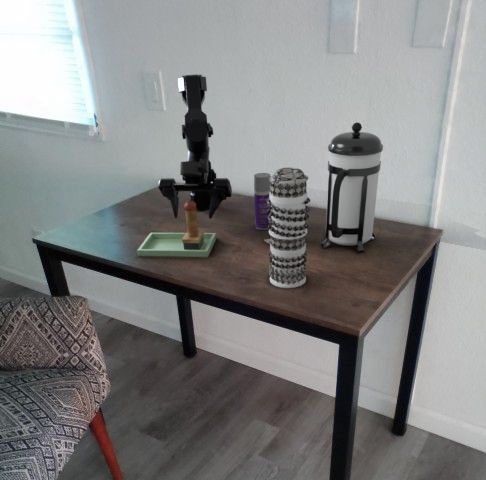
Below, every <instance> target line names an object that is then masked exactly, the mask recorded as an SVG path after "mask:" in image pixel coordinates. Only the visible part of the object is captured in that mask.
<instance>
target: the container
mask: <svg viewBox="0 0 486 480" xmlns="http://www.w3.org/2000/svg"><path fill="white" fill-rule="evenodd" d="M270 177H271V174H270V173H268V172H258V173H254V175H253V196H254V225H255V229H256V230H259V231H269V228H268V216H269V213H268V212H267V210H268V209H267V207H268V206H267V202H266V201H267V200H268V197H269V193H270V180H269V178H270ZM270 203H271V201H270ZM270 211H271V209H270Z"/></svg>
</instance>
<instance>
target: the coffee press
mask: <svg viewBox="0 0 486 480" xmlns="http://www.w3.org/2000/svg"><path fill="white" fill-rule="evenodd" d="M362 128H363V126H362V124H361V123H360V122H359V121H358V122H354V123H353V124H352V125H351V130H352V131H347V132H343V133H339V134H337V135H335V136H334V137H333V138H332V139H331V141H330V143H329V144H328V146H327V150H328V153H329V154H328V161H327V173H328V177H327V196H326V215H325V216H326V218H325V236H324V238H323V239H322V240H321V243H320V244H321V246H322V247H323V248H325V249H326V248H328V247H329V246H330V245H331V244H332V243H334V244H337V245H340V246H353V247H354V248H355V251H356V253H357V254H363V253H364V252H365V248H364V244H365V243H367V242H368V241H374V240H375V239H376V236H375V233H374V232H373V231H374V221H375V215H376V214H375V213H376V204H377V194H378V185H379V174H380V171H381V164H382V161H381V155H382V152H383V150H384V145H383V144H382V140H381V139H380V137H379V136H377V135H376V134H374V133H370V132H365V131H361V130H362Z"/></svg>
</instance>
